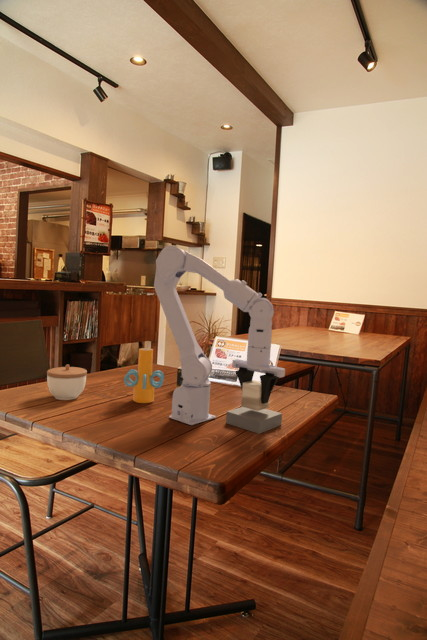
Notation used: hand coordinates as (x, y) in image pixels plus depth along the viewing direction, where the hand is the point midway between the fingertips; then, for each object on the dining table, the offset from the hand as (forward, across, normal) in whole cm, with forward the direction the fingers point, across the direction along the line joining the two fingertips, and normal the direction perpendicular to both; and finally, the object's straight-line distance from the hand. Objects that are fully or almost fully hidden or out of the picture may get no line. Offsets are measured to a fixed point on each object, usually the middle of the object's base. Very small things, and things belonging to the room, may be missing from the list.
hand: (255, 400), depth 105 cm
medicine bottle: (+6, +35, -14) cm, 38 cm away
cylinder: (+6, +33, +8) cm, 35 cm away
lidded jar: (+6, +49, +23) cm, 55 cm away
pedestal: (+6, 0, 0) cm, 6 cm away
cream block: (+2, 0, 0) cm, 2 cm away
